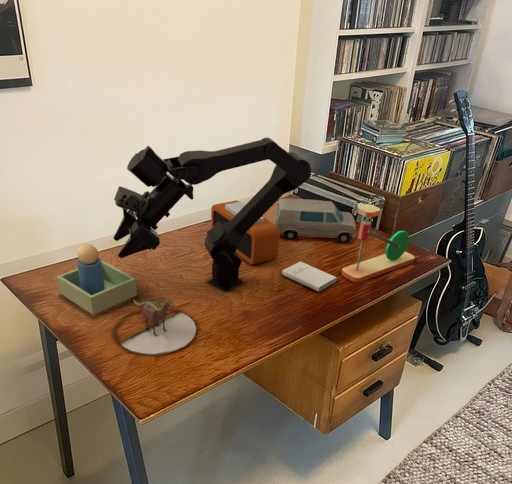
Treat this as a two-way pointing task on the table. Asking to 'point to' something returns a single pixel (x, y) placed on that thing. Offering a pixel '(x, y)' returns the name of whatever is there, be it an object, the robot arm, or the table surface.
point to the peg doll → (90, 269)
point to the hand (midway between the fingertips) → (117, 248)
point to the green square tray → (115, 292)
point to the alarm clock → (250, 234)
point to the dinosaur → (161, 330)
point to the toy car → (313, 220)
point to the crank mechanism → (384, 262)
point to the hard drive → (309, 276)
